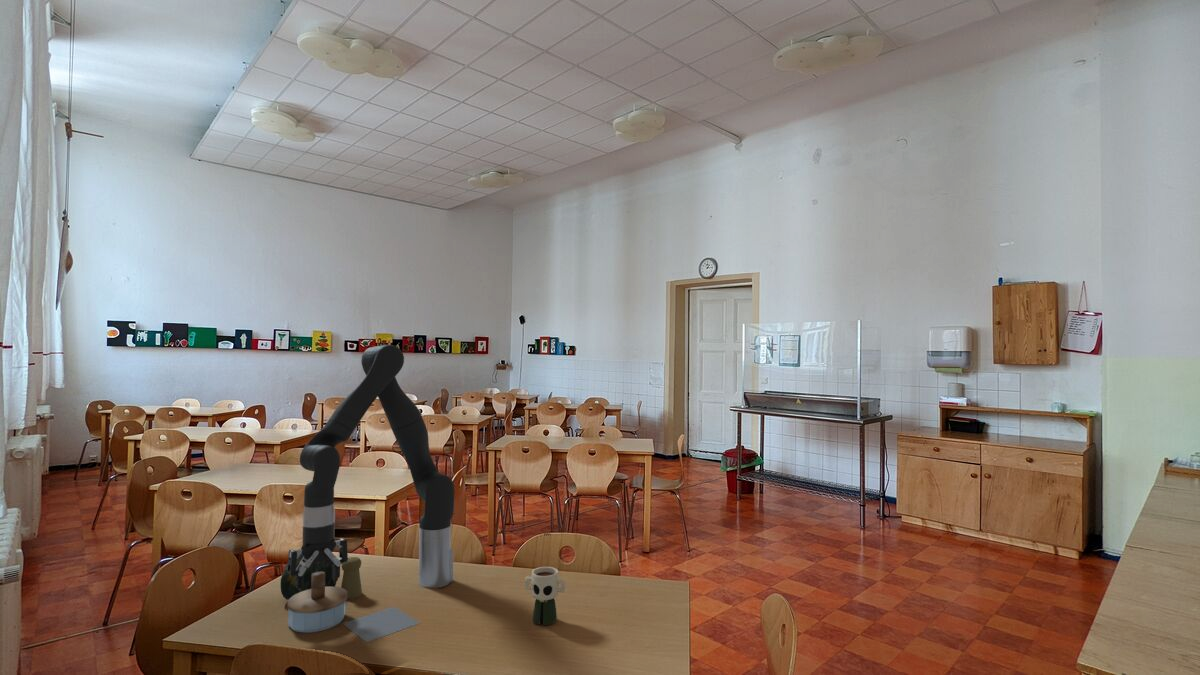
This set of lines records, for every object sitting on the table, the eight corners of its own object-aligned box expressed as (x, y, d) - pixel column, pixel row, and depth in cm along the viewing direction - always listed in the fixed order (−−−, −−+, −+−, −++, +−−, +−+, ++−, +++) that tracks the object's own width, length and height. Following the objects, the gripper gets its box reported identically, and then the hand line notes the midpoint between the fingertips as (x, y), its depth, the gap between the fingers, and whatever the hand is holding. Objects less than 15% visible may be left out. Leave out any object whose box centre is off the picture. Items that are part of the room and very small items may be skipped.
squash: (261, 581, 167) (289, 545, 164) (306, 565, 180) (332, 531, 177) (287, 622, 162) (316, 585, 159) (331, 602, 176) (358, 569, 173)
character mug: (520, 625, 152) (520, 574, 152) (528, 613, 159) (529, 565, 159) (561, 629, 150) (561, 578, 150) (568, 617, 157) (568, 568, 157)
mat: (394, 608, 162) (394, 606, 162) (420, 625, 152) (420, 623, 152) (342, 625, 152) (342, 623, 152) (366, 644, 142) (366, 642, 142)
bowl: (332, 607, 162) (333, 587, 162) (353, 623, 153) (353, 601, 153) (281, 623, 153) (281, 601, 153) (299, 640, 144) (300, 617, 144)
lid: (334, 585, 163) (334, 560, 163) (356, 601, 153) (356, 573, 153) (279, 601, 153) (279, 573, 153) (299, 618, 143) (299, 589, 143)
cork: (354, 602, 166) (354, 562, 166) (334, 600, 167) (335, 561, 167) (366, 593, 172) (367, 555, 172) (348, 591, 173) (348, 553, 173)
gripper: (340, 513, 161) (339, 573, 161) (284, 524, 151) (283, 588, 151) (352, 519, 156) (351, 581, 156) (294, 530, 146) (293, 597, 145)
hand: (318, 584), depth 153 cm, fingers open, 8 cm apart
